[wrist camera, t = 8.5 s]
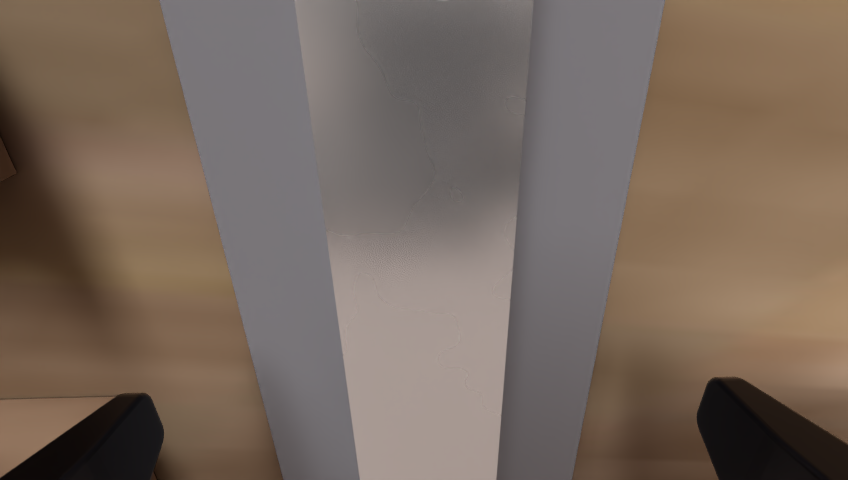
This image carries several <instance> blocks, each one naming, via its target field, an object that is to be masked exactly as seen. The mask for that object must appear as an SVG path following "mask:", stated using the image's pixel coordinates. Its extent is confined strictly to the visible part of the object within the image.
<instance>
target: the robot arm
mask: <svg viewBox="0 0 848 480" xmlns="http://www.w3.org/2000/svg"><path fill="white" fill-rule="evenodd" d="M697 424H698V428H699V431H700V433H701V436H702V438H703V441H704V443H705V446H706V448H707V451H708V453H709V456H710V458H711V461H712V463H713V466H714V468H715V471H716V474H717V476H718V479H719V480H848V444H847V443H845V442H843V441H842V440H840V439H839V438H837V437H835V436H834V435H832V434H830V433H829V432H827V431H826V430H824V429H822V428H821V427H819V426H818V425H816V424H814V423H813V422H811V421H810V420H808V419H806V418H805V417H803V416H801V415H800V414H798V413H797V412H795V411H793V410H792V409H790V408H789V407H787V406H785V405H784V404H782V403H780V402H779V401H777V400H776V399H774V398H772V397H771V396H769V395H768V394H766V393H764V392H763V391H761V390H760V389H758V388H756V387H755V386H753V385H751V384H750V383H748V382H747V381H745V380H743V379H741V378H738V377H715V378H712V379H711V380H710V381H708V383H707V386H706V389H705V392H704V394H703V397H702V400H701V403H700V406H699V408H698V412H697ZM163 438H164V429H163V425H162V423H161V420H160V418H159V415H158V413H157V411H156V408H155V406H154V403H153V401H152V399H151V397H150V396H149V395H148V394H146V393H124V394H120V395H118V396H116V397H114V398H113V399H111V400H110V401H108V402H107V403H106V404H104V405H103V406H101V407H100V408H98V409H97V410H96V411H94V412H93V413H91V414H90V415H89V416H87V417H86V418H84V419H83V420H81V421H80V422H79V423H77V424H76V425H74V426H73V427H71V428H70V429H69V430H67V431H66V432H64V433H63V434H62V435H60V436H59V437H57V438H56V439H54V440H53V441H52V442H50V443H49V444H47V445H46V446H44V447H43V448H42V449H40V450H39V451H37V452H36V453H34V454H33V455H32V456H30V457H29V458H27V459H26V460H25V461H23V462H22V463H20V464H19V465H17V466H16V467H15V468H13V469H12V470H10V471H9V472H7V473H6V474H5V475H3V476H2V477H0V480H151V477H152V474H153V471H154V468H155V465H156V462H157V458H158V455H159V452H160V449H161V446H162V443H163Z"/></svg>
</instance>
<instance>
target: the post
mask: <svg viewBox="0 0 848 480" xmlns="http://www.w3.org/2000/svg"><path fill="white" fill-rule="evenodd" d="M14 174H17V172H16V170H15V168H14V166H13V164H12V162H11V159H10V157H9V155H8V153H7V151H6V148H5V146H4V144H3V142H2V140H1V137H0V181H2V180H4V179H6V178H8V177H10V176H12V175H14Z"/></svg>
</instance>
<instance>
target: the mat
mask: <svg viewBox="0 0 848 480" xmlns="http://www.w3.org/2000/svg"><path fill="white" fill-rule="evenodd" d="M159 1H160V5H161V8H162V12H163V16H164V20H165V24H166V28H167V32H168V36H169V39H170V43H171V47H172V51H173V55H174V59H175V63H176V67H177V70H178V74H179V78H180V82H181V86H182V90H183V94H184V97H185V101H186V105H187V109H188V113H189V117H190V121H191V125H192V128H193V132H194V136H195V140H196V144H197V148H198V152H199V156H200V159H201V163H202V167H203V171H204V175H205V179H206V183H207V186H208V190H209V194H210V198H211V202H212V206H213V210H214V214H215V217H216V221H217V225H218V229H219V233H220V237H221V241H222V245H223V248H224V252H225V256H226V260H227V264H228V268H229V272H230V275H231V279H232V283H233V287H234V291H235V295H236V299H237V303H238V306H239V310H240V314H241V318H242V322H243V326H244V330H245V334H246V337H247V341H248V345H249V349H250V353H251V357H252V361H253V364H254V368H255V372H256V376H257V380H258V384H259V388H260V392H261V395H262V399H263V403H264V407H265V411H266V415H267V419H268V423H269V426H270V430H271V434H272V438H273V442H274V446H275V450H276V453H277V457H278V461H279V465H280V469H281V473H282V477H283V480H360V477H359V470H358V463H357V455H356V448H355V441H354V433H353V426H352V419H351V411H350V404H349V397H348V389H347V382H346V375H345V367H344V360H343V353H342V345H341V338H340V331H339V323H338V316H337V309H336V301H335V294H334V287H333V279H332V272H331V265H330V257H329V250H328V243H327V235H326V228H325V221H324V213H323V206H322V199H321V191H320V184H319V177H318V169H317V162H316V155H315V147H314V140H313V133H312V125H311V118H310V111H309V103H308V96H307V89H306V81H305V74H304V67H303V59H302V52H301V45H300V37H299V30H298V23H297V15H296V8H295V1H294V0H159ZM664 3H665V0H534V1H533V14H532V27H531V40H530V53H529V66H528V79H527V92H526V104H525V117H524V130H523V143H522V156H521V169H520V182H519V194H518V207H517V220H516V233H515V246H514V259H513V272H512V284H511V297H510V310H509V323H508V336H507V349H506V362H505V375H504V387H503V400H502V413H501V426H500V439H499V452H498V465H497V477H496V480H572V476H573V471H574V466H575V461H576V456H577V451H578V445H579V440H580V435H581V430H582V425H583V420H584V414H585V409H586V404H587V399H588V394H589V389H590V384H591V378H592V373H593V368H594V363H595V358H596V353H597V348H598V342H599V337H600V332H601V327H602V322H603V317H604V312H605V306H606V301H607V296H608V291H609V286H610V281H611V276H612V270H613V265H614V260H615V255H616V250H617V245H618V240H619V234H620V229H621V224H622V219H623V214H624V209H625V204H626V198H627V193H628V188H629V183H630V178H631V173H632V167H633V162H634V157H635V152H636V147H637V142H638V137H639V131H640V126H641V121H642V116H643V111H644V106H645V101H646V95H647V90H648V85H649V80H650V75H651V70H652V65H653V59H654V54H655V49H656V44H657V39H658V34H659V29H660V23H661V18H662V13H663V8H664Z"/></svg>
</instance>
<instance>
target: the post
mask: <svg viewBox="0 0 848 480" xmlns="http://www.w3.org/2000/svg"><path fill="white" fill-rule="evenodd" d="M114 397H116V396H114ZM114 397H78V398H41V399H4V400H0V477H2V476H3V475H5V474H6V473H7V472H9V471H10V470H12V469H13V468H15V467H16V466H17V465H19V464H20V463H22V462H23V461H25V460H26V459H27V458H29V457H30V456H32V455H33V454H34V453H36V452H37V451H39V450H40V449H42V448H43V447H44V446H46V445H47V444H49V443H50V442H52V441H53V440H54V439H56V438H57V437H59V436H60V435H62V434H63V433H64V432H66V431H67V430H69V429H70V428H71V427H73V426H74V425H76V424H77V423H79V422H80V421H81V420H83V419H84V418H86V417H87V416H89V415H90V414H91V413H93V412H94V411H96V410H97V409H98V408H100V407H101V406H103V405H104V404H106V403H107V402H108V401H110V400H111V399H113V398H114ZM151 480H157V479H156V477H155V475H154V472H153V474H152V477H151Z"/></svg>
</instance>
